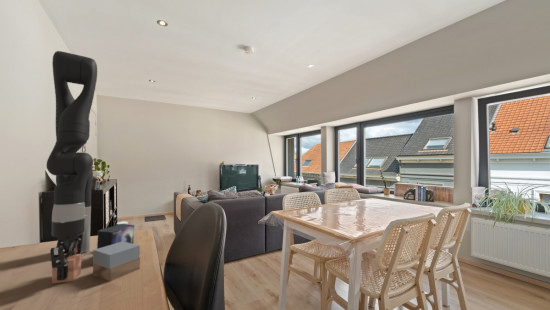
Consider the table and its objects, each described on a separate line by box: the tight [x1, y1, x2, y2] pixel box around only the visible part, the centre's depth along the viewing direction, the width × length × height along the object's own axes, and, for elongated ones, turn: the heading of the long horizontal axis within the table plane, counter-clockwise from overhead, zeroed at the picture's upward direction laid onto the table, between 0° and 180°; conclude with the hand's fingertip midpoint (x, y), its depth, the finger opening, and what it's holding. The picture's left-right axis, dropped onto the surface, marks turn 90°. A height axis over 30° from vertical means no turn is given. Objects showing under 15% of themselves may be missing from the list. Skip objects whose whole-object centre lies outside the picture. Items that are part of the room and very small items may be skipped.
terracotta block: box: [51, 253, 82, 285], centre depth 70 cm, size 5×5×6 cm
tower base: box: [92, 257, 141, 282], centre depth 75 cm, size 9×9×4 cm
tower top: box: [92, 241, 141, 269], centre depth 75 cm, size 9×9×4 cm
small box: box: [96, 223, 135, 249], centre depth 88 cm, size 11×6×10 cm, turn 168°
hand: (66, 274), depth 70 cm, fingers closed on terracotta block, 5 cm apart
